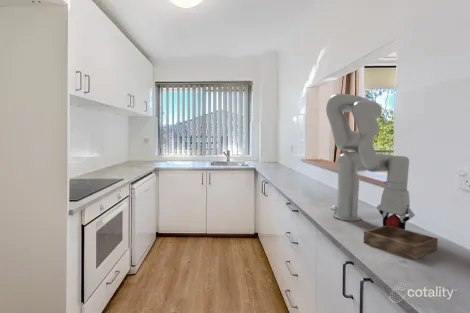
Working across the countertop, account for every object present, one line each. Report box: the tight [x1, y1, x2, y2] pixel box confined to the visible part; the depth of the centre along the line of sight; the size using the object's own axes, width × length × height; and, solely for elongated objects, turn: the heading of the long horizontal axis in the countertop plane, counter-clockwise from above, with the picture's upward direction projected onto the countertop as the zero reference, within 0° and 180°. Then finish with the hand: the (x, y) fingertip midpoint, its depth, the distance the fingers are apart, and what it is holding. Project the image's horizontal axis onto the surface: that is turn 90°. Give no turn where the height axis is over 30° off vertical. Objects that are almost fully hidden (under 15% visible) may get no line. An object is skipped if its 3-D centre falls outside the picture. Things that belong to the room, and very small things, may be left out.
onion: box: [386, 214, 401, 228], centre depth 127 cm, size 6×6×8 cm
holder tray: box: [362, 225, 439, 260], centre depth 111 cm, size 18×16×4 cm
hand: (393, 228), depth 128 cm, fingers closed on onion, 5 cm apart
